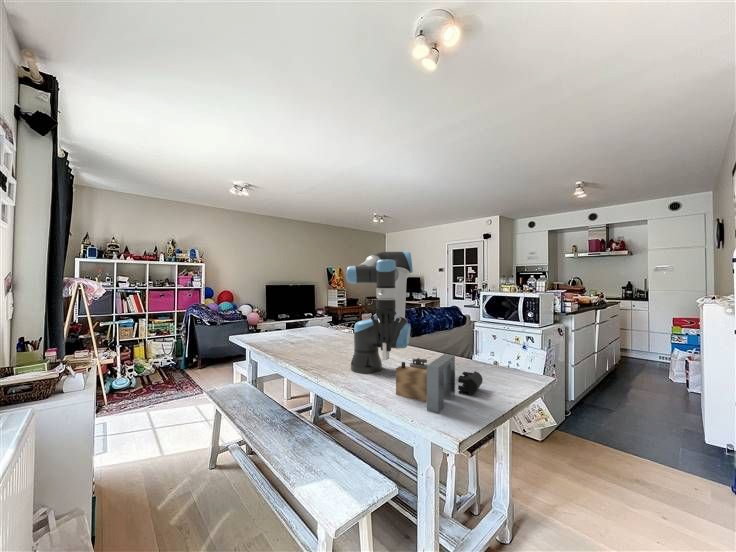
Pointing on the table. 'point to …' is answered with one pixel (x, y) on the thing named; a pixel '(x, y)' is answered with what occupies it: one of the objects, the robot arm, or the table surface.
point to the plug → (411, 382)
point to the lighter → (419, 363)
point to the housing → (440, 382)
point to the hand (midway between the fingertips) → (385, 359)
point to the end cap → (469, 383)
